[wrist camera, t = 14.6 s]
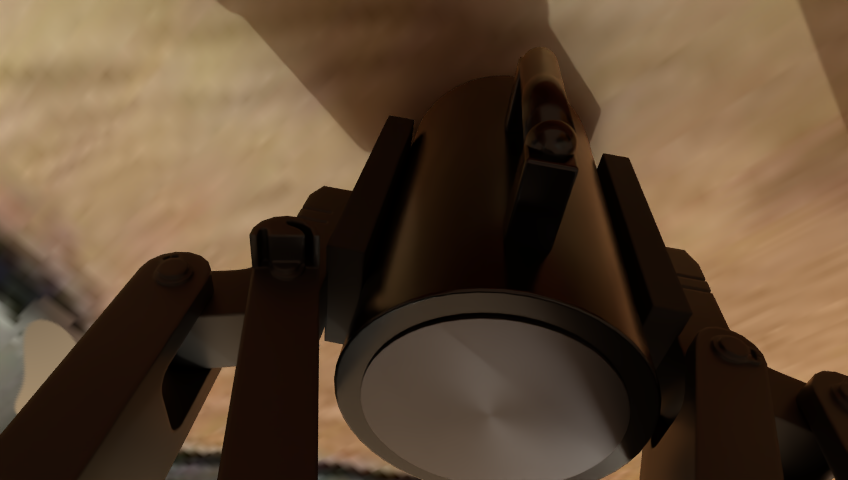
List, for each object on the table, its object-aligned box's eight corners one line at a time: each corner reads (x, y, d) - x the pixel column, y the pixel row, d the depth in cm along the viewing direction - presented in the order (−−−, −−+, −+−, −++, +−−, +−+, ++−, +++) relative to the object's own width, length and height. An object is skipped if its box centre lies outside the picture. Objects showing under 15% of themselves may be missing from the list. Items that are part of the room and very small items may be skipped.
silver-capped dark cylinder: (559, 246, 18) (597, 522, 11) (403, 217, 18) (329, 470, 11) (639, 24, 14) (805, 223, 6) (432, -11, 14) (341, 140, 6)
